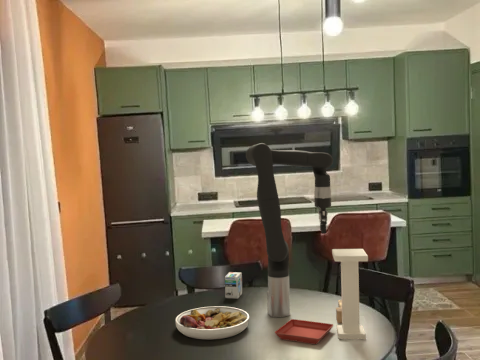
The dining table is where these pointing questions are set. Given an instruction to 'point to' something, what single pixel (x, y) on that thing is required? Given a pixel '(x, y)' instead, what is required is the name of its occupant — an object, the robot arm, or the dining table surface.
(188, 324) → the bowl
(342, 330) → the tall stand
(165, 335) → the dining table surface
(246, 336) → the dining table surface
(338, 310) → the beech mallet
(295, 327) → the plant saucer
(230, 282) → the light bulb box
